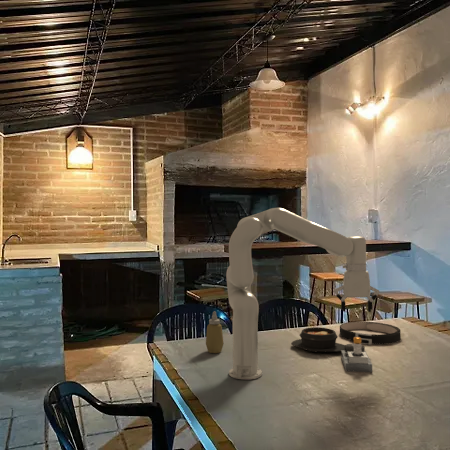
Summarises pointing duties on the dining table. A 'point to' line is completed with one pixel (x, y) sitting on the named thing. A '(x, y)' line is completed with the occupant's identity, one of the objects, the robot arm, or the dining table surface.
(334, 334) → the casserole
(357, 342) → the orange and grey cylinder
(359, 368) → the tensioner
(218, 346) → the squeeze bottle
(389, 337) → the belt
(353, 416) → the dining table surface
